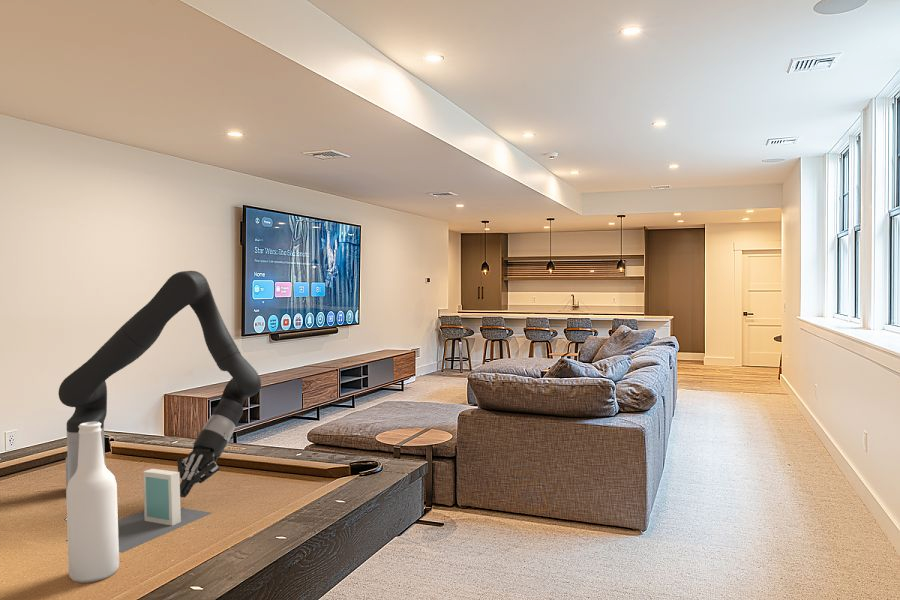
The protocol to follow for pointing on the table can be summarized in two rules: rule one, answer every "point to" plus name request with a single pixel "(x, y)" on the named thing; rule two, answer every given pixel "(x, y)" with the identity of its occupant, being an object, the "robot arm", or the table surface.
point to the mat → (149, 528)
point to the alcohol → (92, 512)
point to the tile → (162, 496)
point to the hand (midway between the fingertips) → (180, 495)
